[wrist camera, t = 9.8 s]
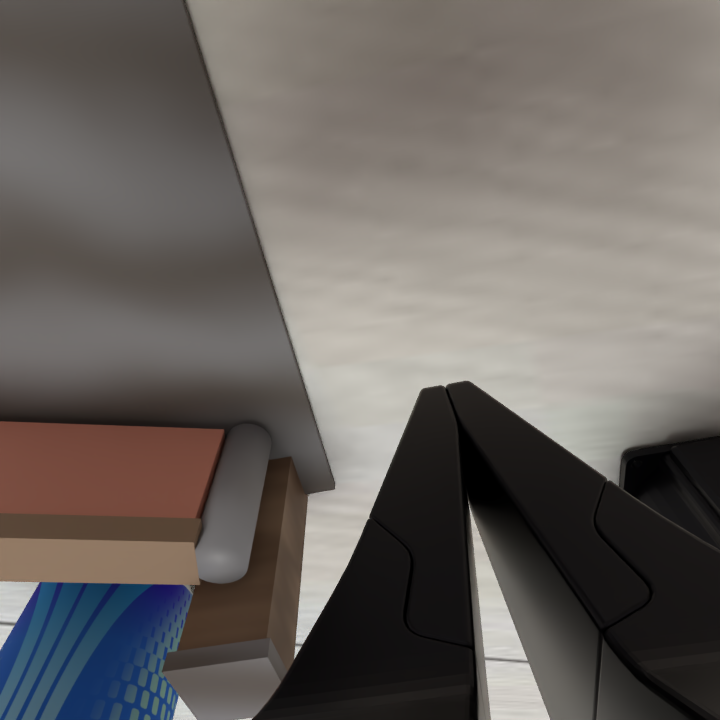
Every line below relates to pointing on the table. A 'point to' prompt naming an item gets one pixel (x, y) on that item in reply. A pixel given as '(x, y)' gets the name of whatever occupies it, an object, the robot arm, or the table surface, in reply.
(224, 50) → the table surface
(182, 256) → the gate frame
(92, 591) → the beer can
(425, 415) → the robot arm
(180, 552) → the bar
